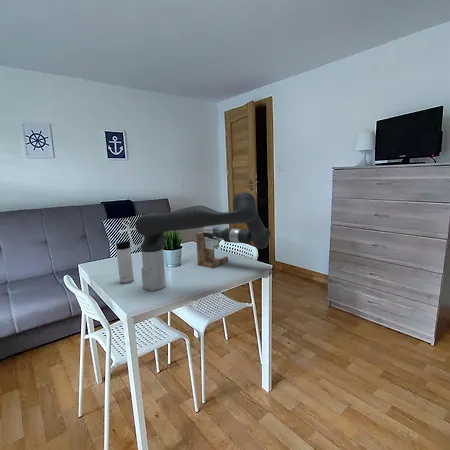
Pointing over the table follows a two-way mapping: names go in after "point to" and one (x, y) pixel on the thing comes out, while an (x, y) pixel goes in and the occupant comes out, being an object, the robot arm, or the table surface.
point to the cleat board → (207, 253)
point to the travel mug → (125, 262)
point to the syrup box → (211, 242)
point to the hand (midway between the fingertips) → (207, 233)
